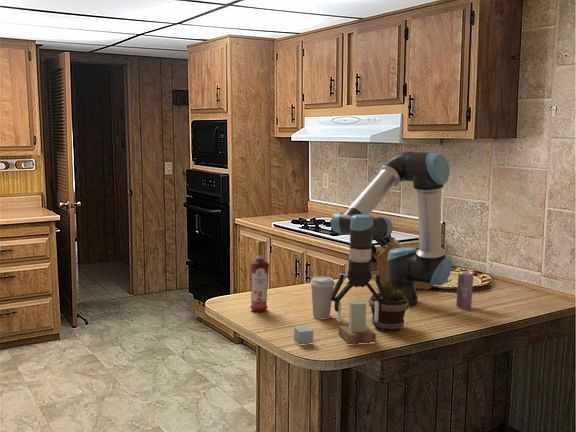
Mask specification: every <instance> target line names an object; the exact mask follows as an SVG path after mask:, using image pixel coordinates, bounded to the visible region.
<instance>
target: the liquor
mask: <svg viewBox="0 0 576 432" xmlns="http://www.w3.org/2000/svg"><path fill="white" fill-rule="evenodd" d="M264 242H265V241H264V240H259V239H258V240H256V258H255V260H253V261H252V262H251V263H250V286H251V287H250V289H251V290H250V291H251V292H250V293H251V294H250V295H251V296H250V297H251V301H250V302H251V305H250V309H251V310H252V311H253V310H254V311H253V312H255V311H263V312H264V311H266V310H267V309H268V305H267V300H268V299H267V298H268V285H269V273H270V272H269V270H270V269H269V268H270V264H269V262H267V261H266V260H264Z"/></svg>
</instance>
